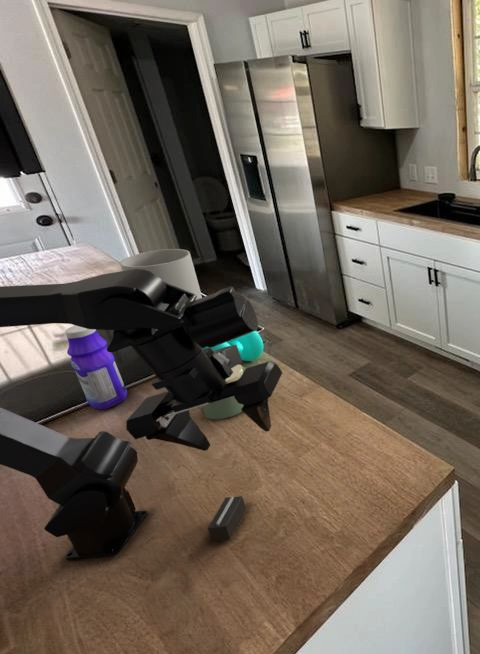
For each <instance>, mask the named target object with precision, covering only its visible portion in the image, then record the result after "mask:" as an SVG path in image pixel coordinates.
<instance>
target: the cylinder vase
mask: <svg viewBox="0 0 480 654" xmlns="http://www.w3.org/2000/svg"><path fill="white" fill-rule="evenodd" d="M119 266H120V268H121V271H126V270H132V269H141V270H147V271H151V272H152V273H153V274H154V275H156V276H158V277H159V278H160V279H161V280H162V281H163V282H165V283H168V284H170V285H173V286H175V287H178V288H180V289H183V290H185V291H188V292H190V293H193V294H195V295H197V298H196V299H195V300H197V299H200V298H203V296H202V292H201V288H200V285H199V281H198V277H197V273H196V270H195V266H194V263H193V259H192V255H191V251H189V250H187V249H183V248H167V249H156V250H151V251H144V252H140V253H137V254H136V253H135V254H133V255H130V256H127V257H125V258H124V259H122V260H121V261H120V262H119ZM168 305H169V304H162V305H161V306H160V307H159V309H160V310H163V311H165V309H166V308H167V307H168Z"/></svg>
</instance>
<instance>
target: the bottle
mask: <svg viewBox="0 0 480 654" xmlns="http://www.w3.org/2000/svg"><path fill="white" fill-rule="evenodd" d="M64 333H65V336H66V339H67V342H68V348H67V351H66V354H67V355H68V356H70V364H71V367H72V369H73V370H74V372H75V374H76V377H77V379H78V382H79V384H80V386H81V389H82V391H83V394H84V396H85V399H86V402H87V403H88V404H89V405H90V406H91V407H92V408H94V409H97V410H106V409H109V408H111V407H113V406H117V405H118V404H120V403H123V402H124V401H125V400H126V399H127V397H128V389H127V388H126V386H125V384H124V381H123V379H122V375H121V374H120V371H119V369H118V365H117V363H116V360H115V356H114V355H113V352H108V351H107V347H108V346H107V345H108V341H107V339H104V338H103V337H102V336H100V334H99V332H98V330H94V329H86V328H83V327H80V326H76V325H72V326H70V327H68V328H66V329H65V330H64Z"/></svg>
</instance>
